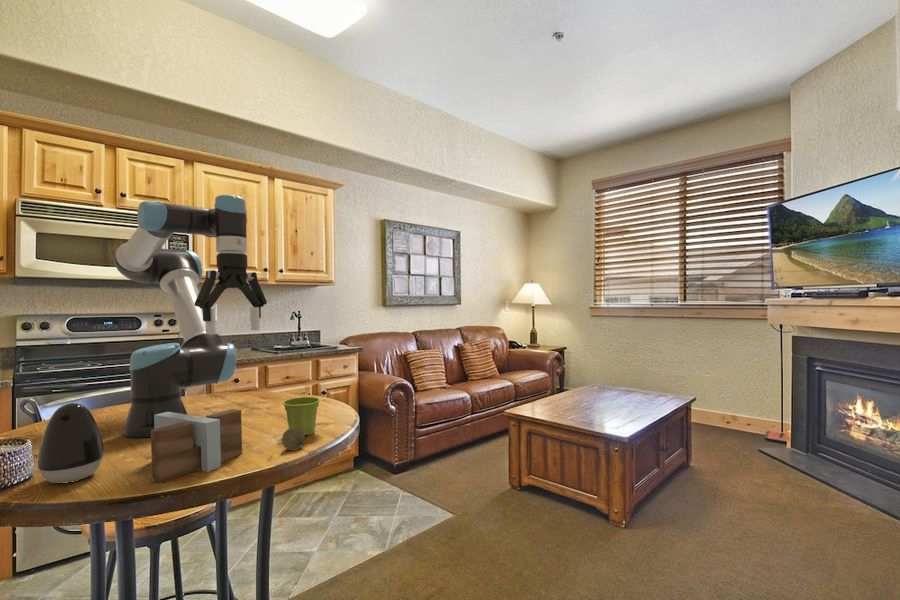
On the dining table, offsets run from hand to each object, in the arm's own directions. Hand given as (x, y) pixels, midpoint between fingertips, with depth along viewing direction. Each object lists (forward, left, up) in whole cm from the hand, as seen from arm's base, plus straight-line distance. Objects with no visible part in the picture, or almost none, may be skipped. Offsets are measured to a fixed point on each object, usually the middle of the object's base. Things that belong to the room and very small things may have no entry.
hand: (234, 332), depth 121 cm
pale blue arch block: (+11, -21, -27) cm, 36 cm away
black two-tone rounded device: (-2, -36, -27) cm, 45 cm away
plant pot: (+19, +5, -27) cm, 33 cm away
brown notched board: (+16, -21, -27) cm, 37 cm away
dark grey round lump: (+26, -5, -27) cm, 38 cm away
